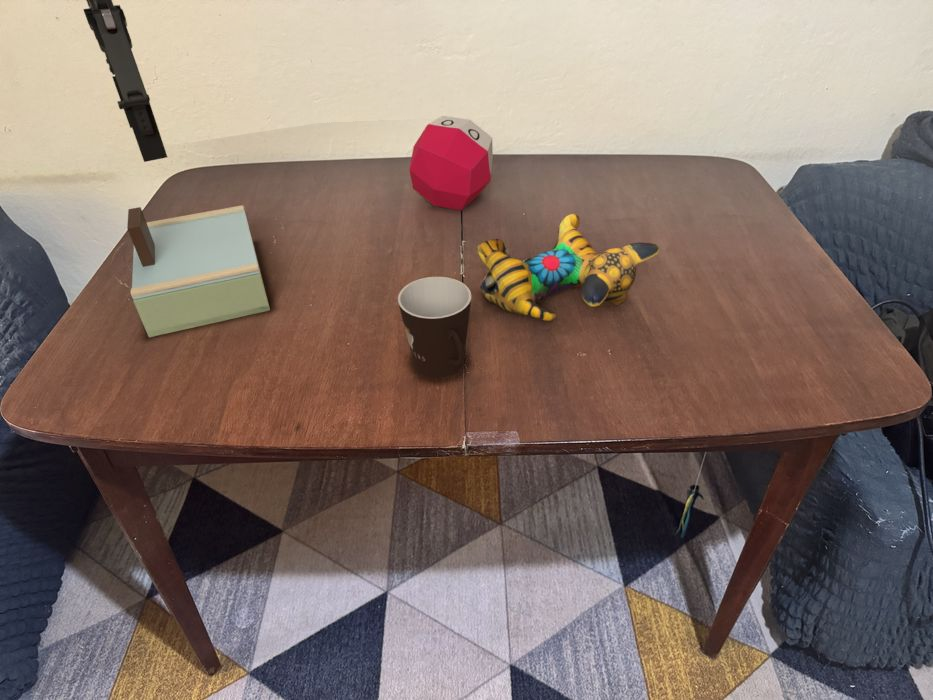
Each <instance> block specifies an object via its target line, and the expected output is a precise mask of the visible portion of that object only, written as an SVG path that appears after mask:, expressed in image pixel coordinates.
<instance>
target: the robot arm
mask: <svg viewBox="0 0 933 700" xmlns="http://www.w3.org/2000/svg"><path fill="white" fill-rule="evenodd" d="M85 1H86V3H87V6H88V8H83V13H84V15H85V18H86V22H87V23H88V26H89V28H90V30H91V31H92V32H93V34H94V37H95V40H96V41H97V43H98V46H99V49H100V51H101V52H102V53H104V55H105V61H106V64H107V65H108V69H109V72H110V73H111V74H112V75H113V76H111V77H112V80H113V83H114V85H115V89H116V92H117V94H118V97H119V101H116V102H117V105H118V109H119V110H124V114H125V116H126V120H127V123H128V126H129V128H130V129H132V131H133V135H134V138H135V140H136V142H137V146H138V149H139V151H140V155H141V157H142V160H143V162H144V163H146V162H151V161H155V160H156V161H157V160H161V159H166V158H168V154H167V151H166V147H165V146H164V142H163V140H162V139H163V138H162V136H161V133H160V130H159V127H158V123H157V121H156V117H155V114H154V111H153V109H152V105H151V98H150V95H149V94H148V93H147V90H146V87H145V84H144V81H143V78H142V76H141V73H140V70H139V67H138V64H137V61H136V58H135V56H134V53H133V51H132V49H133V42H132V38H131V36H130V33H129V30H128V22H127V19H126V15H125V12H124V10H123V8H122V7H121V5H120V4H114V2H113V0H85Z"/></svg>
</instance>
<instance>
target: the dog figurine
mask: <svg viewBox="0 0 933 700" xmlns="http://www.w3.org/2000/svg"><path fill="white" fill-rule="evenodd" d="M580 223H581V220H580V217H579V215H578V214H575V213H570V214H568V215H566V216H565V217H564V218H563V219H562V220H561V222H560V224H559V227H558V235H557V236H558V237H557V241H556V243H555V245H554V246H553V248H552V249H551V250H548V251H545V252H542V253H539V254H537V255H535V256H533V257H529V258H525V259H523V260H521V259H518V258H516V257H512V256H511V253H510V252H509V248H507V247H506V243H504V241H503V240H502V239H500V238H492V239H488V240H486V241H483V242H481V243H479V244H478V245H477V247H476V250H477V253H478V257H479V259H480V260H481V262H482V263H483V265H484V266H485V267H486V268H487V270H488V272H487V274H486V275H485V276H484V277H483V278H482V281H481V283H480V286H479V288H480V292H481V293H482V295H483V296H484V298H485V299H486V300H487V301H488V302H489V303H491V304H493V305H496V306H497V307H499V308H501V309H502V311H504V312H506V313H509V314H517V315H524V316H530V317H533V318H535V319H538V320H539V319H540V320H542V321H545V322H550V321H553V320H555V319H556V317H557V314H556V312H555V311H551V310H547V309H545V308H543V307H541V306H539V305H538V304H536V303H538V302H540V301H543V300H546V299H548V298H551V297H553V296H554V295H556V294H559V293H561V292H563V291H565V290H568V289H570V288H574V287H575V288H576V287H582V288H581V297H582V300H583V301H584V303H585V304H586V305H588V306H589V307H591V308H593V307H598V306H601V304H602V303H606V302H607V303H609V304H611V305H613V306H616V307H617V306H619V305H621V304H623V303H624V302H625V301H626V300H627V299H628V297H629V295H628V291H630V289H632V287H633V285H634V283H635V280H636V276H637V266H638V264H641V263H643V262H645V261H648V260H650V259H653V258H654V257H655V256H657V255H658V254H659V252H660V246H659V244H656V243H651V242H633V243H629V244H627V245H625V246H622V247H614V248H609V249H606V250H604V251H602V252H600V253H597V251H596V250H595V249H594V248H593V246H592V245H591V244H590V242H589V241H588V240H587V239H586V238H585V237H584V236H583V235H582V233H581V232H580V231H578V228H579V226H580Z"/></svg>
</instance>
